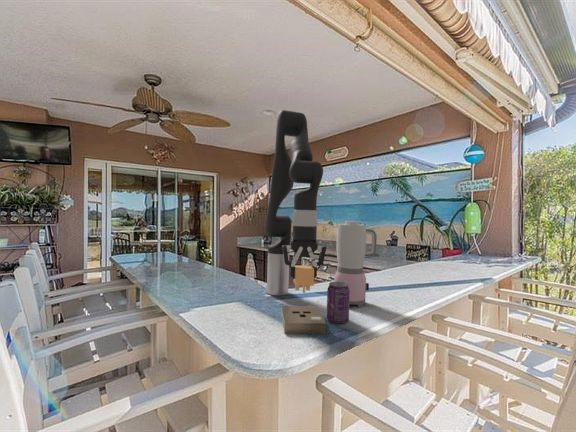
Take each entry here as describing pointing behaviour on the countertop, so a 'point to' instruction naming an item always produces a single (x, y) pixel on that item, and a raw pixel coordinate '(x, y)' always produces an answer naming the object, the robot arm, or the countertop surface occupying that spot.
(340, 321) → the beverage can
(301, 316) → the socket plate
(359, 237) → the blender
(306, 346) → the countertop surface
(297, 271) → the plug
